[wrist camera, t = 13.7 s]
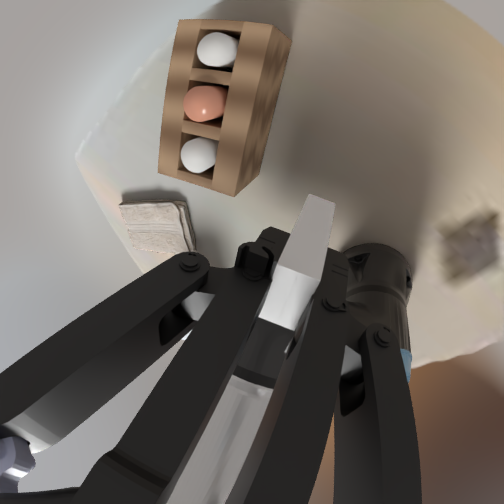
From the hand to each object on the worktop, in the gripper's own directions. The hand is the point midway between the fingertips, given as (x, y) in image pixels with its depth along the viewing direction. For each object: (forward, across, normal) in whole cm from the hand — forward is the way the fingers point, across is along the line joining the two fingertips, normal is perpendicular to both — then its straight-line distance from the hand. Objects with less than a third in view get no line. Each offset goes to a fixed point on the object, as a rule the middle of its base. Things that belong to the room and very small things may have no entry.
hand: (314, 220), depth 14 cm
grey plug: (+25, +16, -9) cm, 31 cm away
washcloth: (+27, +29, +26) cm, 47 cm away
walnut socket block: (+26, +16, -2) cm, 31 cm away
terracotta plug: (+24, +16, -2) cm, 29 cm away
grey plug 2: (+25, +16, +5) cm, 30 cm away
